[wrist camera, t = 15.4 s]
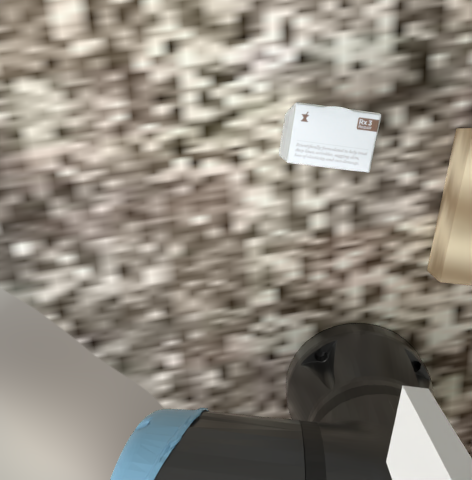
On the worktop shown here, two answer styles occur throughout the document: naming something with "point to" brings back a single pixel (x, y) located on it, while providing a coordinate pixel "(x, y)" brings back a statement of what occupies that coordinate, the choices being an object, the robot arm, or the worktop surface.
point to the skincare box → (329, 137)
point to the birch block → (455, 217)
